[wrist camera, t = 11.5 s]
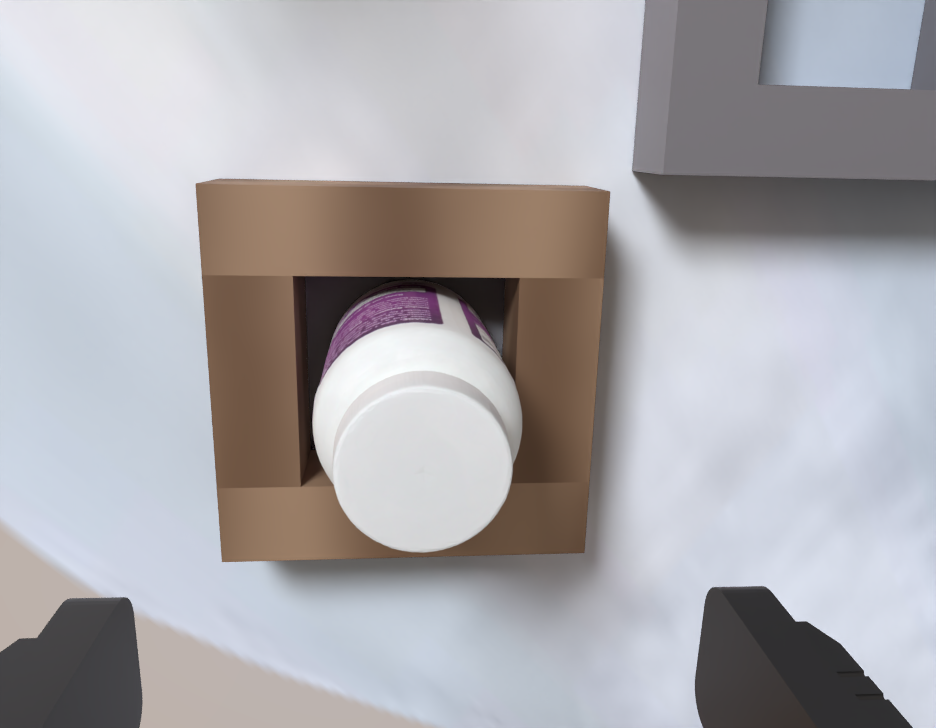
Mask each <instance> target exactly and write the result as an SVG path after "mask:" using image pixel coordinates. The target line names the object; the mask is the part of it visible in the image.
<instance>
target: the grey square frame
mask: <svg viewBox="0 0 936 728" xmlns="http://www.w3.org/2000/svg"><path fill="white" fill-rule="evenodd" d="M767 4H768V0H646V1H645V14H644V26H643V39H642V52H641V65H640V77H639V90H638V103H637V116H636V128H635V141H634V154H633V167H632V171H637V172H645V173H653V174H661V175H702V176H749V177H796V178H844V179H891V180H936V0H926V1H925V7H924V13H923V19H922V25H921V31H920V37H919V42H918V48H917V54H916V60H915V66H914V72H913V78H912V84H911V90H909V89H878V88H847V87H817V86H786V85H758V81H759V72H760V64H761V55H762V47H763V38H764V30H765V21H766V13H767Z"/></svg>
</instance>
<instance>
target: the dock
mask: <svg viewBox="0 0 936 728" xmlns="http://www.w3.org/2000/svg"><path fill="white" fill-rule="evenodd" d="M196 197H197V211H198V225H199V239H200V254H201V268H202V282H203V297H204V311H205V325H206V340H207V354H208V368H209V383H210V397H211V411H212V425H213V440H214V454H215V468H216V483H217V497H218V511H219V526H220V540H221V554H222V562H243V561H282V560H322V559H361V558H401V557H441V556H480V555H520V554H560V553H584V551H585V537H586V523H587V509H588V495H589V481H590V467H591V453H592V439H593V425H594V411H595V397H596V383H597V369H598V355H599V341H600V327H601V313H602V299H603V285H604V271H605V257H606V243H607V229H608V215H609V201H610V191H605V190H601V189H597V188H592V187H588V186H563V185H512V184H461V183H410V182H359V181H308V180H257V179H216V180H211V181H206V182H202V183H197V184H196ZM305 276H358V277H479V278H505V295H504V323H503V350H502V360H503V362H504V364H505V365H506V367H507V369H508V371H509V373H510V374H511V376H512V378H513V380H514V382H515V386H516V389H517V392H518V395H519V400H520V405H521V410H522V435H521V441H520V446H519V450H518V453H517V456H516V459H515V461H514V463H513V474H512V480H511V485H510V489H509V492H508V495H507V498H506V500H505V502H504V504H503V505H502V507H501V509H500V510H499V512H498V514H497V515H496V516H495V517H494V519H493V520H492V521H491V522H490V523H489V524H488V525H487V526H486V527H485V528H484V529H483V530H482V531H481V532H479V533H478V534H477V535H475V536H474V537H472V538H471V539H469V540H467V541H465V542H463V543H461V544H459V545H456V546H453V547H450V548H447V549H444V550H439V551H434V552H425V553H423V552H407V551H401V550H396V549H392V548H390V547H387V546H385V545H382V544H381V543H379V542H376V541H375V540H373V539H371V538H370V537H368V536H367V535H365V534H364V533H362V532H361V531H360V530H359V529H358V528H357V527H356V526H355V525H354V524H353V523H352V522H351V521H350V520H349V518H348V517H347V515H346V514H345V512H344V511H343V509H342V507H341V505H340V503H339V501H338V498H337V495H336V492H335V488H334V484H333V483H332V482H331V480H330V479H329V477H328V476H327V474H326V472H325V471H324V469H323V467H322V464H321V462H320V460H319V457H318V455H317V451H316V450H311V440H310V411H309V381H308V351H307V322H306V292H305Z"/></svg>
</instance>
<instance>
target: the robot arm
mask: <svg viewBox="0 0 936 728" xmlns="http://www.w3.org/2000/svg"><path fill="white" fill-rule="evenodd" d="M695 696H696V704H697V709H698V713H699V717H700V720H701V723H702V726H703V728H913V727H912V726H911V725H910V724H909V723H908V722H907V720H906V719H905V718H904V717H903V716H902V715H901V713H900V712H899V711H898V710H897V709H896V708H895V706H894V705H893V704H892V703H891V702H890V701H889V700H888V699H887V700H885V699H884V697H883V693H882V691H881V690H880V689H879V688H878V687H877V686H876V685H875V683H874V682H873V681H872V680H871V679H870V678H869V676H864V671H863V669H862V668H861V667H860V666H859V665H858V664H857V663H856V661H855V660H854V659H853V658H852V657H851V656H850V654H849V653H848V652H847V651H846V650H845V649H844V648H843V646H842V645H841V644H840V643H838V642H837V641H835V640H834V639H832V638H831V637H829V636H828V635H826V634H825V633H823V632H822V631H820V630H819V629H817V628H816V627H814V626H813V625H811V624H810V623H808V622H807V621H806V622H795V620H794V619H793V618H792V617H791V615H790V614H789V613H788V612H787V610H786V609H785V608H784V607H783V606H782V604H781V603H780V602H779V601H778V599H777V598H776V597H775V596H774V594H773V593H772V592H771V591H770V590H769V589H768V588H766V587H764V586H751V587H713V588H711V589H710V590H709V591H708V594H707V596H706V600H705V606H704V613H703V621H702V629H701V637H700V645H699V653H698V661H697V668H696V676H695ZM141 714H142V688H141V678H140V669H139V660H138V649H137V640H136V630H135V621H134V612H133V607H132V604H131V602H130V600H129V599H128V598H125V597H122V598H72V599H67V600H66V601H64V602H63V603H62V605H61V606H60V607H59V609H58V610H57V611H56V613H55V614H54V616H53V617H52V618H51V620H50V621H49V622H48V624H47V625H46V626H45V628H44V629H43V631H42V632H41V633H40V635H39V636H38V638H29V639H28V638H26V639H18V640H17V641H16V642H14V643H13V644H11V645H10V646H9V647H7V648H6V649H4V650H3V651H1V652H0V728H139V727H140V721H141Z"/></svg>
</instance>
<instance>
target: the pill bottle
mask: <svg viewBox="0 0 936 728" xmlns="http://www.w3.org/2000/svg"><path fill="white" fill-rule="evenodd" d="M312 424H313V436H314V443H315V447H316V451H317V455H318V457H319V460H320V462H321V464H322V467H323V469H324V471H325V472H326V474H327V476H328V477H329V479H330V480H331V482H332V483H333V484H334V488H335V492H336V495H337V498H338V501H339V503H340V505H341V507H342V509H343V511H344V512H345V514H346V515H347V517H348V518H349V520H350V521H351V522H352V523H353V524H354V525H355V526H356V527H357V528H358V529H359V530H360V531H361V532H362V533H364V534H365V535H367V536H368V537H370V538H371V539H373V540H375V541H376V542H379V543H381V544H382V545H385V546H387V547H390V548H392V549H396V550H401V551H407V552H423V553H425V552H434V551H439V550H444V549H447V548H450V547H453V546H456V545H459V544H461V543H463V542H465V541H467V540H469V539H471V538H472V537H474V536H475V535H477V534H478V533H479V532H481V531H482V530H483V529H484V528H485V527H486V526H487V525H488V524H489V523H490V522H491V521H492V520H493V519H494V517H495V516H496V515H497V514H498V512H499V510H500V509H501V507H502V505H503V504H504V502H505V500H506V498H507V495H508V492H509V489H510V485H511V480H512V474H513V463H514V461H515V459H516V456H517V453H518V450H519V446H520V441H521V435H522V410H521V405H520V400H519V395H518V392H517V389H516V386H515V382H514V380H513V378H512V376H511V374H510V373H509V371H508V369H507V367H506V365H505V364H504V362H503V360H502V358H501V355H500V353H499V352H498V350H497V348H496V346H495V344H494V342H493V340H492V338H491V336H490V334H489V333H488V331H487V329H486V327H485V326H484V324H483V323H482V321H481V319H480V318H479V316H478V315H477V313H476V312H475V310H474V309H473V308H472V307H471V306H470V305H469V304H468V303H467V302H466V301H465V300H464V299H463V298H461V297H460V296H459V295H458V294H456V293H455V292H453V291H452V290H450V289H448V288H446V287H443V286H441V285H439V284H436V283H433V282H429V281H423V280H411V279H410V280H397V281H392V282H388V283H386V284H383V285H380V286H378V287H376V288H374V289H372V290H370V291H368V292H367V293H365V294H364V295H362V296H361V297H360V298H358V299H357V300H356V301H355V302H354V303H353V304H352V305H351V306H350V307H349V308H348V309H347V311H346V312H345V313H344V315H343V316H342V318H341V319H340V321H339V323H338V325H337V327H336V330H335V332H334V335H333V337H332V341H331V344H330V348H329V351H328V354H327V357H326V361H325V365H324V370H323V373H322V377H321V381H320V384H319V386H318V389H317V391H316V394H315V399H314V407H313V419H312Z"/></svg>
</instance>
